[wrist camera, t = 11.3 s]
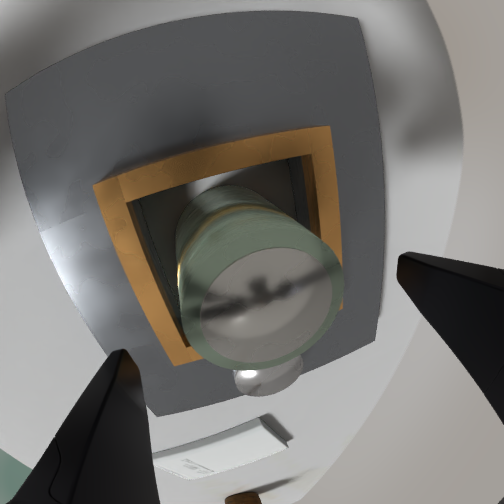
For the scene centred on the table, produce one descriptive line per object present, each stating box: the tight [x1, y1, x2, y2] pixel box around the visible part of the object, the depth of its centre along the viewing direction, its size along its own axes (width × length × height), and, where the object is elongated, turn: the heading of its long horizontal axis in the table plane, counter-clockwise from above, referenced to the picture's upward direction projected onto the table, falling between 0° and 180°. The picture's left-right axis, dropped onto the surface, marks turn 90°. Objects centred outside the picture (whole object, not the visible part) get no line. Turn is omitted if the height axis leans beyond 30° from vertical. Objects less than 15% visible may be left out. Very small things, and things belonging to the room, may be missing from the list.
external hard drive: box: [152, 417, 289, 480], centre depth 22 cm, size 2×8×12 cm
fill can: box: [175, 185, 344, 371], centre depth 10 cm, size 5×5×6 cm
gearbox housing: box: [5, 11, 385, 417], centre depth 12 cm, size 16×20×2 cm
